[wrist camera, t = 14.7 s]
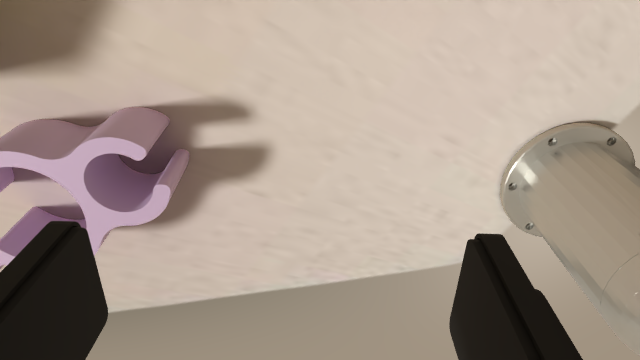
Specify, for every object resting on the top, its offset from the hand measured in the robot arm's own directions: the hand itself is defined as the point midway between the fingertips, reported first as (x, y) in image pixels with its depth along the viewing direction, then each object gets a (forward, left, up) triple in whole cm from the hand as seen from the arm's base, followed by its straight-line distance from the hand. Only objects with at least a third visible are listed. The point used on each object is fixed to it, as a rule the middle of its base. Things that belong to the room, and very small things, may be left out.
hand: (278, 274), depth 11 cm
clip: (+21, +13, -31) cm, 40 cm away
